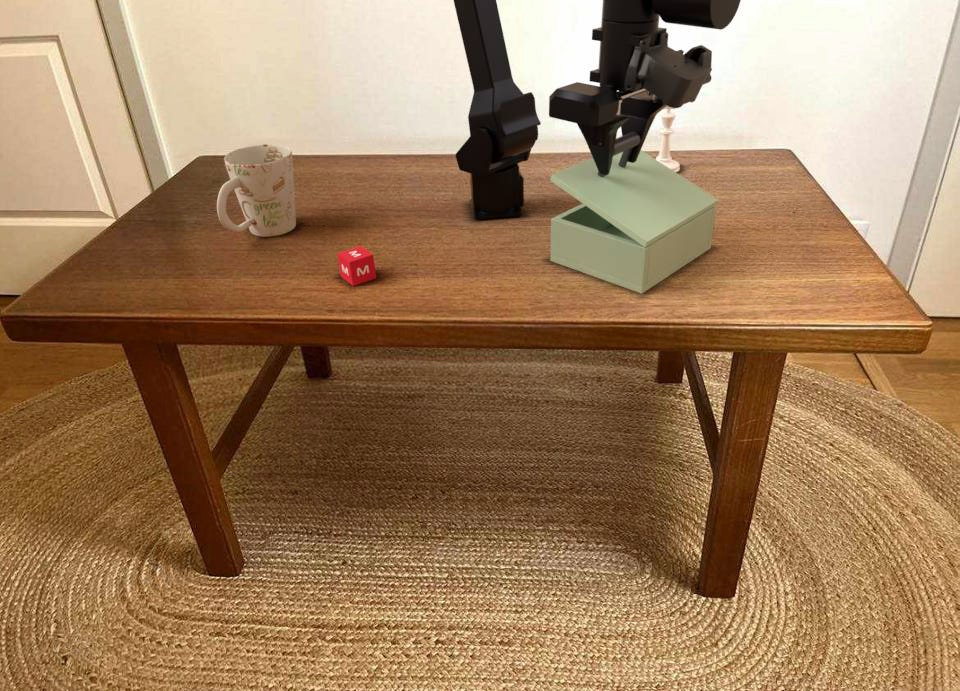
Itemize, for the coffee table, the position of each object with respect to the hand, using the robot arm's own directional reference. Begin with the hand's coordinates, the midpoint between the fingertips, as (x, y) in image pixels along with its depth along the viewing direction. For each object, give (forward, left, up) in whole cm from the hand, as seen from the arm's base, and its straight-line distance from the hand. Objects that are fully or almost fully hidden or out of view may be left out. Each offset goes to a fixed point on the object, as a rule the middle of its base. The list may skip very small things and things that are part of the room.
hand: (617, 168), depth 82 cm
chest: (+2, -2, -10) cm, 10 cm away
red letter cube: (-30, -2, -10) cm, 32 cm away
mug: (-43, +13, -10) cm, 46 cm away
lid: (+2, -2, -2) cm, 3 cm away
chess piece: (+15, +26, -10) cm, 32 cm away
